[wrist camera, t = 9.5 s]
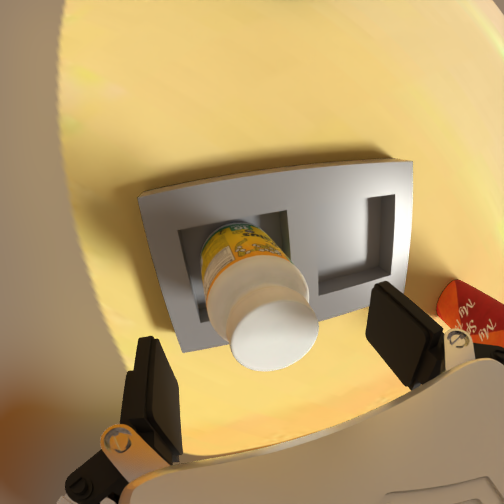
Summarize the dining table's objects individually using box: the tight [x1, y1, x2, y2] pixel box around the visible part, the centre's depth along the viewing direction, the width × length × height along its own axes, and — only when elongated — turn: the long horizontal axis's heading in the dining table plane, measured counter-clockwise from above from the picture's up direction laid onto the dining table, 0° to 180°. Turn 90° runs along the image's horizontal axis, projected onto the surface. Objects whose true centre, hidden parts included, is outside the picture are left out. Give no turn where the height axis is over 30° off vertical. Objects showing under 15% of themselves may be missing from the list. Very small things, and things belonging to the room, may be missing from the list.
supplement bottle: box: [200, 223, 319, 371], centre depth 16 cm, size 5×5×10 cm
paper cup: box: [436, 280, 504, 348], centre depth 23 cm, size 8×8×14 cm
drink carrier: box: [138, 158, 413, 353], centre depth 20 cm, size 12×20×2 cm, turn 97°
